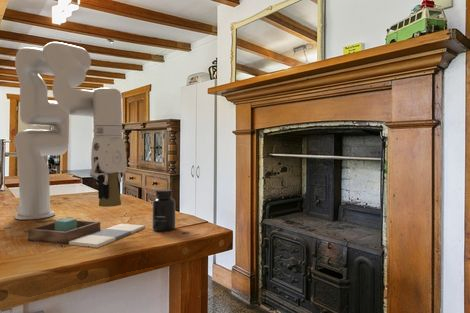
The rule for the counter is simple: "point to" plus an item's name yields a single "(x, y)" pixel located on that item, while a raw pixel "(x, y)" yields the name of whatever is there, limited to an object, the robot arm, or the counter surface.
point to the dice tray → (50, 235)
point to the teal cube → (65, 224)
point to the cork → (111, 191)
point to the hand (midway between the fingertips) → (109, 196)
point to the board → (106, 235)
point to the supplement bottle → (163, 211)
